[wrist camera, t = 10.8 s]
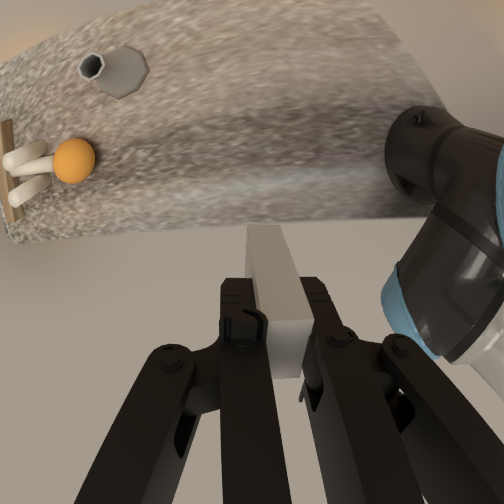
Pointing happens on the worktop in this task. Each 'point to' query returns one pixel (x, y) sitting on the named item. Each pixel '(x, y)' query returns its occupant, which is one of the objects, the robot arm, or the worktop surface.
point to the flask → (115, 70)
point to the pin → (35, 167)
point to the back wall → (8, 173)
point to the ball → (73, 161)
